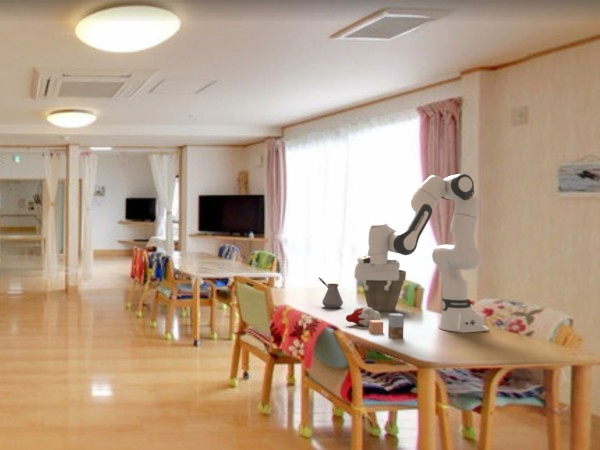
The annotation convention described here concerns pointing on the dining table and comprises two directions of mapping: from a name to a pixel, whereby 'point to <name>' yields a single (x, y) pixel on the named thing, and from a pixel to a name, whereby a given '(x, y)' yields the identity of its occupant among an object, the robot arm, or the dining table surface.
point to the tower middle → (396, 320)
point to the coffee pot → (332, 296)
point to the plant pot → (384, 293)
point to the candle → (363, 316)
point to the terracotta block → (375, 326)
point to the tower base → (395, 332)
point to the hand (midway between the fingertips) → (376, 290)
